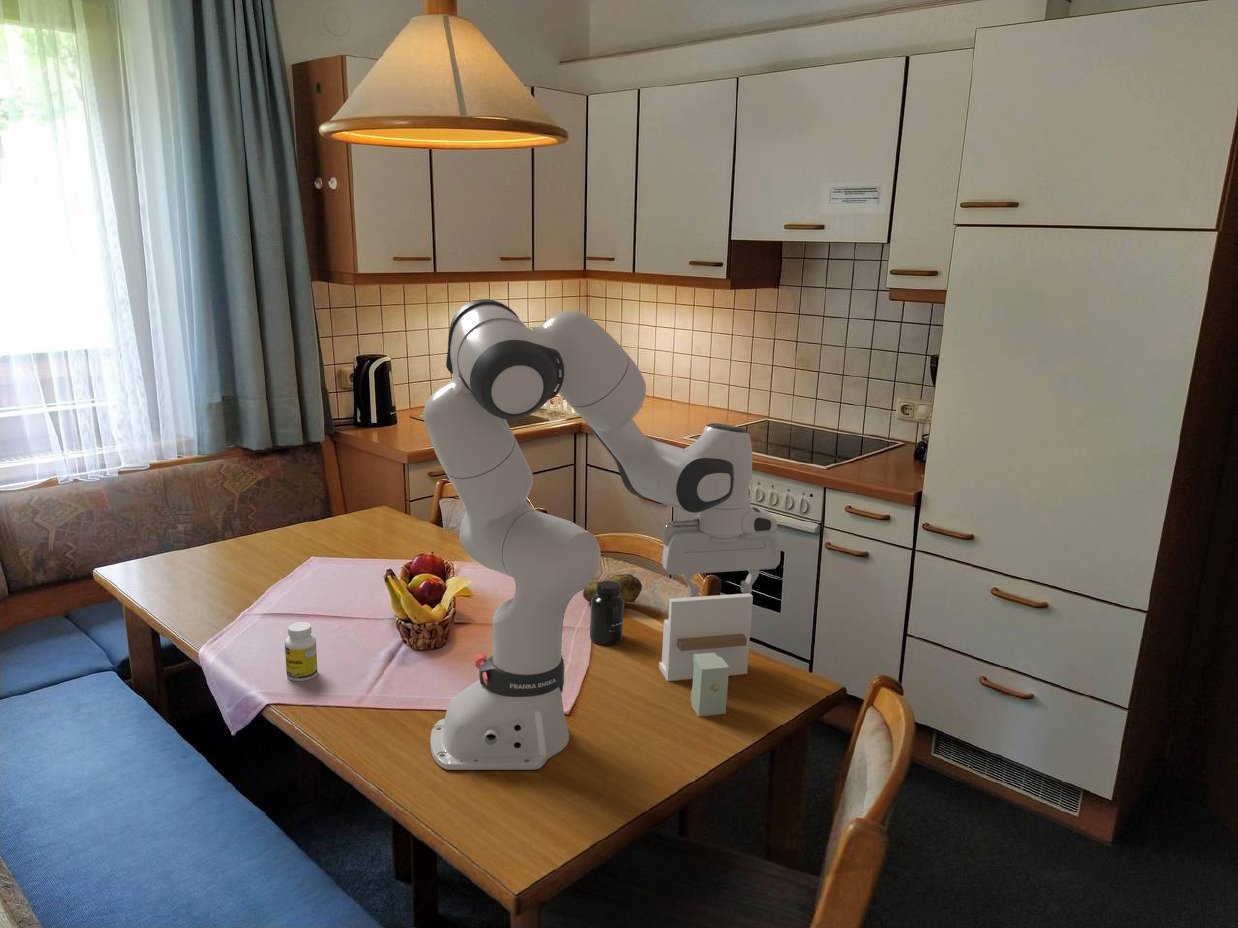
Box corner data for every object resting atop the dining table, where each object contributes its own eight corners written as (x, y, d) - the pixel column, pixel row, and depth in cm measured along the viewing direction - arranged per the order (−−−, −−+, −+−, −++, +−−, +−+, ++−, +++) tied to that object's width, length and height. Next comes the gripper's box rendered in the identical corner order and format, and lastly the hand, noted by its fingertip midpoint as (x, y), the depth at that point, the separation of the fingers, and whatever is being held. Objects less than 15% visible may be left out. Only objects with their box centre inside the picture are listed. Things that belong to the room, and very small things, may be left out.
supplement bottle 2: (619, 648, 181) (621, 592, 178) (586, 643, 182) (587, 588, 179) (625, 633, 187) (627, 580, 185) (593, 630, 189) (595, 576, 186)
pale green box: (700, 718, 155) (703, 671, 153) (688, 700, 162) (690, 654, 159) (727, 716, 157) (730, 669, 154) (714, 697, 163) (717, 652, 161)
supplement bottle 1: (280, 677, 164) (277, 627, 162) (303, 665, 169) (300, 617, 166) (301, 684, 162) (298, 635, 159) (324, 673, 166) (321, 624, 164)
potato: (600, 593, 208) (601, 560, 206) (646, 607, 201) (648, 574, 199) (578, 604, 202) (579, 570, 200) (625, 619, 195) (626, 585, 193)
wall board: (670, 686, 166) (675, 606, 162) (658, 667, 173) (663, 590, 169) (750, 678, 170) (757, 600, 166) (736, 660, 177) (741, 585, 173)
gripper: (667, 527, 146) (665, 605, 150) (786, 520, 150) (781, 597, 154) (658, 515, 152) (656, 590, 156) (773, 509, 156) (768, 583, 160)
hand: (719, 593), depth 155 cm, fingers open, 8 cm apart
